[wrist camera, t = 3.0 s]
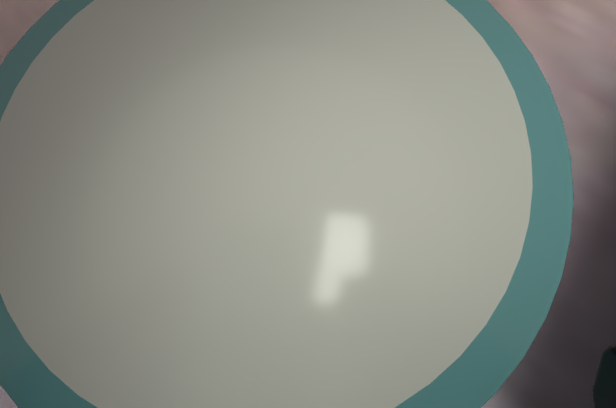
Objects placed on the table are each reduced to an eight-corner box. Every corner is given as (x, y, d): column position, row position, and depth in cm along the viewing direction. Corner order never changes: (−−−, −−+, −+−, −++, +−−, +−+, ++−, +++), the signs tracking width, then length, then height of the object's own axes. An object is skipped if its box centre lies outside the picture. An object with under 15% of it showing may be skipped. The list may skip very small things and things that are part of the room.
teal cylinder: (343, 465, 15) (371, 696, 4) (180, 353, 17) (-192, 252, 5) (438, 291, 17) (674, 54, 5) (282, 201, 18) (188, -153, 6)
